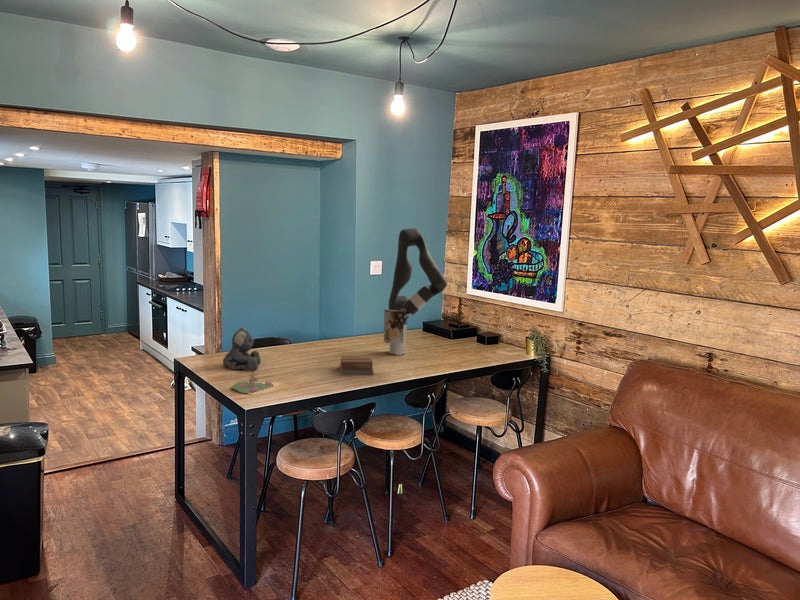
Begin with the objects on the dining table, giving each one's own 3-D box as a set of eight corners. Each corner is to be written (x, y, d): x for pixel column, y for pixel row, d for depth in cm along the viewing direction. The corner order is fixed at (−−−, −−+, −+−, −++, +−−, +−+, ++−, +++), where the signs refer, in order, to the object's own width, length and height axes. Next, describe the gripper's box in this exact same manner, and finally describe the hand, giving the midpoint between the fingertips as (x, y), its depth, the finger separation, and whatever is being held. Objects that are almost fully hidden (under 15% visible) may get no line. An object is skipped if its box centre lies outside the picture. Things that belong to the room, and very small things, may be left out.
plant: (274, 378, 283) (274, 360, 281) (296, 389, 267) (296, 370, 266) (223, 386, 267) (223, 366, 265) (243, 398, 251) (244, 377, 250)
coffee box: (400, 340, 307) (402, 309, 304) (403, 343, 301) (404, 311, 298) (383, 340, 305) (384, 309, 303) (385, 343, 299) (386, 311, 296)
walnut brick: (340, 363, 306) (341, 356, 305) (370, 363, 308) (370, 356, 308) (341, 369, 294) (342, 361, 294) (372, 370, 296) (372, 362, 296)
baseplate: (339, 366, 307) (339, 363, 307) (370, 367, 309) (370, 363, 309) (340, 374, 293) (341, 370, 293) (373, 374, 296) (373, 370, 295)
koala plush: (258, 371, 291) (258, 332, 288) (219, 371, 288) (220, 331, 285) (261, 362, 308) (261, 325, 305) (225, 362, 305) (225, 324, 302)
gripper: (407, 296, 308) (383, 318, 308) (412, 300, 294) (387, 324, 294) (417, 306, 309) (393, 328, 309) (422, 311, 295) (397, 334, 295)
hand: (390, 326), depth 301 cm, fingers closed on coffee box, 6 cm apart
